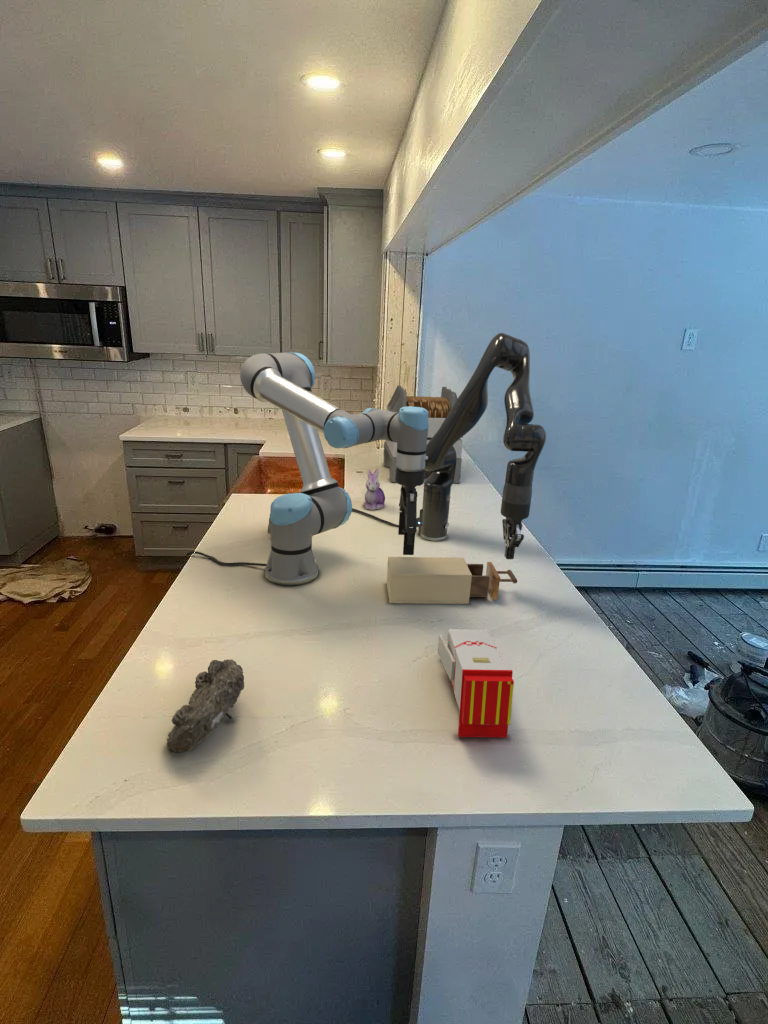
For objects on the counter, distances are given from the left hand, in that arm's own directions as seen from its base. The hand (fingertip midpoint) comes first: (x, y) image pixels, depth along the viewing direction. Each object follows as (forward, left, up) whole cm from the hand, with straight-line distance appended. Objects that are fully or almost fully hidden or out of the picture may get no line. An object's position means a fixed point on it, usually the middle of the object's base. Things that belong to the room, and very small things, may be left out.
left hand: (405, 544), depth 153 cm
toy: (+22, -38, -15) cm, 47 cm away
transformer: (-16, +123, -15) cm, 125 cm away
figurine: (-25, +68, -15) cm, 74 cm away
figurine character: (-49, +30, -15) cm, 60 cm away
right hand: (+28, +8, -4) cm, 29 cm away
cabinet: (+7, +2, -15) cm, 16 cm away
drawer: (+17, +5, -14) cm, 23 cm away
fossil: (-25, -60, -15) cm, 67 cm away
